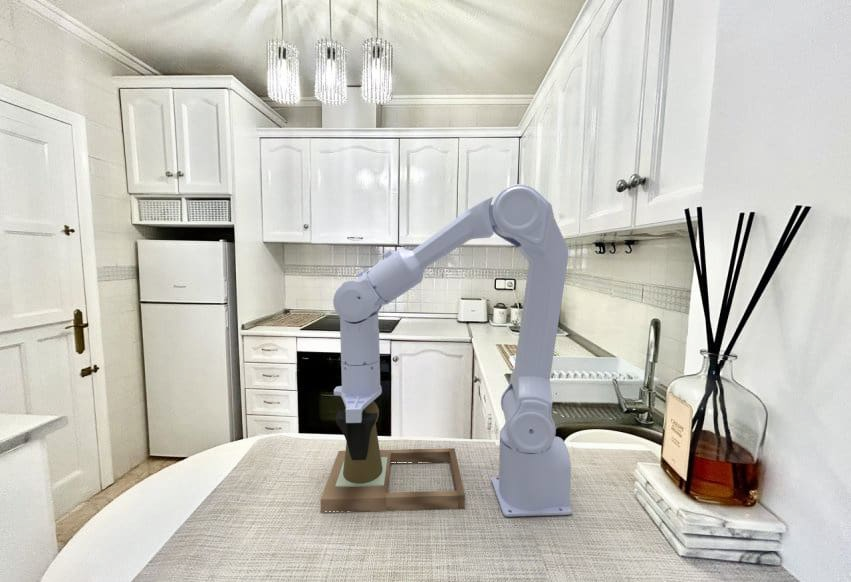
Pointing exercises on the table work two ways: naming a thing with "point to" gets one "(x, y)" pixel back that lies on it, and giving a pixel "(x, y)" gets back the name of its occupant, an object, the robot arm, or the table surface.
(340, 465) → the well board
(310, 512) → the table surface
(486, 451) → the table surface
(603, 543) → the table surface
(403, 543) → the table surface
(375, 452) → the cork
